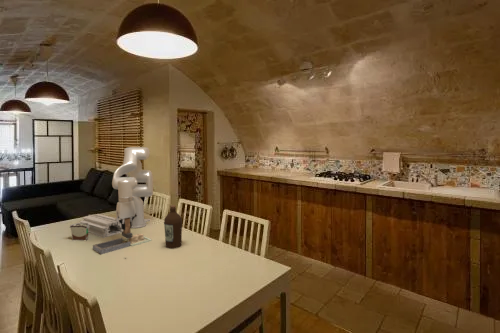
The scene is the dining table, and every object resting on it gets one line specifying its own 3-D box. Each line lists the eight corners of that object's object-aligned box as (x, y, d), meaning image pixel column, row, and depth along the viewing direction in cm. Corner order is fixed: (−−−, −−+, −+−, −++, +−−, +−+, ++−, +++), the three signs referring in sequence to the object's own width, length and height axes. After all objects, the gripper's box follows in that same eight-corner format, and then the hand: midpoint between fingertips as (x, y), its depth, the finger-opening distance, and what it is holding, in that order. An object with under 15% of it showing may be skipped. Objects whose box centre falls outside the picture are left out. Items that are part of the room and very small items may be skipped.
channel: (121, 243, 177) (121, 237, 176) (130, 247, 169) (130, 241, 169) (92, 251, 164) (92, 244, 164) (101, 256, 157) (100, 249, 156)
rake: (126, 234, 177) (125, 216, 176) (132, 237, 173) (131, 219, 171) (121, 235, 175) (121, 217, 174) (127, 238, 170) (126, 220, 169)
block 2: (140, 239, 182) (140, 233, 182) (143, 240, 180) (143, 234, 179) (134, 241, 179) (134, 234, 179) (137, 242, 177) (137, 236, 176)
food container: (94, 237, 188) (93, 222, 187) (88, 240, 182) (87, 225, 181) (77, 236, 189) (76, 222, 188) (70, 239, 183) (69, 224, 182)
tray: (140, 237, 187) (140, 234, 187) (151, 242, 178) (151, 239, 178) (121, 242, 178) (120, 239, 177) (131, 248, 169) (131, 245, 168)
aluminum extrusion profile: (103, 238, 187) (102, 223, 186) (79, 230, 204) (79, 216, 203) (123, 232, 199) (122, 218, 198) (99, 225, 216) (98, 212, 215)
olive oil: (173, 241, 180) (172, 203, 178) (186, 244, 175) (185, 205, 173) (160, 246, 171) (159, 206, 169) (173, 250, 166) (172, 208, 164)
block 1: (134, 241, 179) (134, 235, 179) (137, 242, 177) (137, 236, 176) (128, 242, 176) (128, 236, 176) (131, 244, 174) (131, 238, 173)
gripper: (135, 196, 180) (136, 224, 182) (109, 200, 167) (110, 230, 170) (141, 198, 175) (142, 226, 177) (114, 203, 163) (116, 233, 165)
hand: (126, 228), depth 173 cm, fingers closed on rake, 3 cm apart
